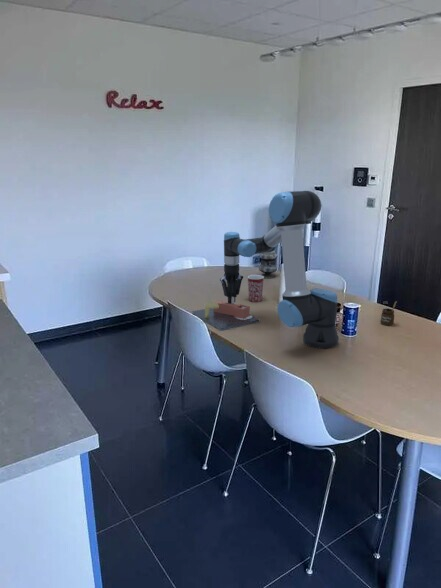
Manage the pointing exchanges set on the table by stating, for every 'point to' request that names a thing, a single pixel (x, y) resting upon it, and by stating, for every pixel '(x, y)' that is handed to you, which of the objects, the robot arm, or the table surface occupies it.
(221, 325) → the plate
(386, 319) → the utensil holder
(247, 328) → the table surface
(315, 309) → the robot arm
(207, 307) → the block
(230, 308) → the link
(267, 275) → the apothecary jar
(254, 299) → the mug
